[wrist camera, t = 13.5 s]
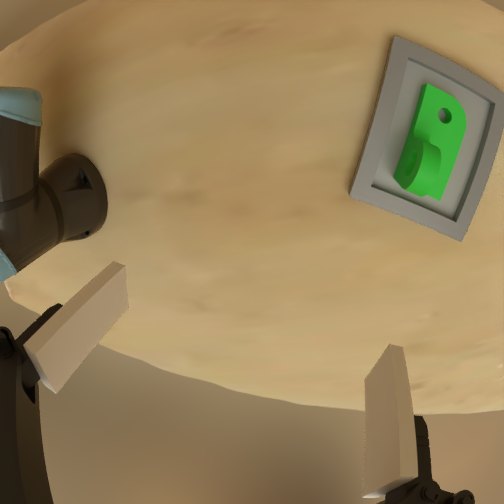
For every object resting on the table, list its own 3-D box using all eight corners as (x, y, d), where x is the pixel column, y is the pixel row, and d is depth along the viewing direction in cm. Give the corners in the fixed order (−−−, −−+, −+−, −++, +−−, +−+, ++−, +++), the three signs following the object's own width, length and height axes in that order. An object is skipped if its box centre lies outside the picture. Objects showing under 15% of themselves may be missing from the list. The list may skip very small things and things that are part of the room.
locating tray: (348, 192, 33) (349, 197, 32) (391, 39, 24) (394, 35, 22) (456, 235, 31) (461, 242, 30) (502, 97, 21) (510, 97, 20)
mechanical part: (434, 196, 30) (458, 219, 23) (392, 177, 31) (408, 196, 24) (464, 107, 24) (497, 108, 17) (422, 84, 25) (446, 77, 18)
